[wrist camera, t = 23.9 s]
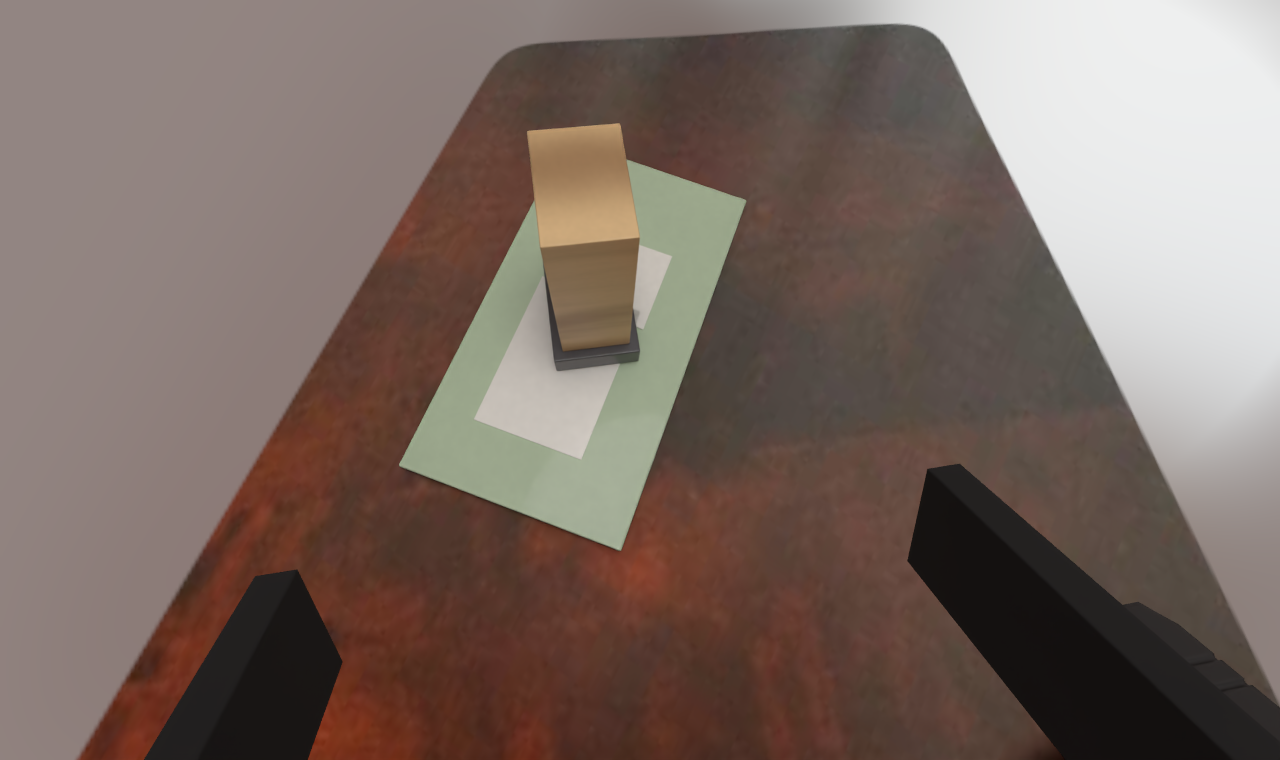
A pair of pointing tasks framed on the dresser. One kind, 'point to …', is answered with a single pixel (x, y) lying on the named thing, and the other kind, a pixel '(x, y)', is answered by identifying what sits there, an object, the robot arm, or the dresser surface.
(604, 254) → the eraser
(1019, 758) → the dresser surface
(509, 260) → the chalk board
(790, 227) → the dresser surface
